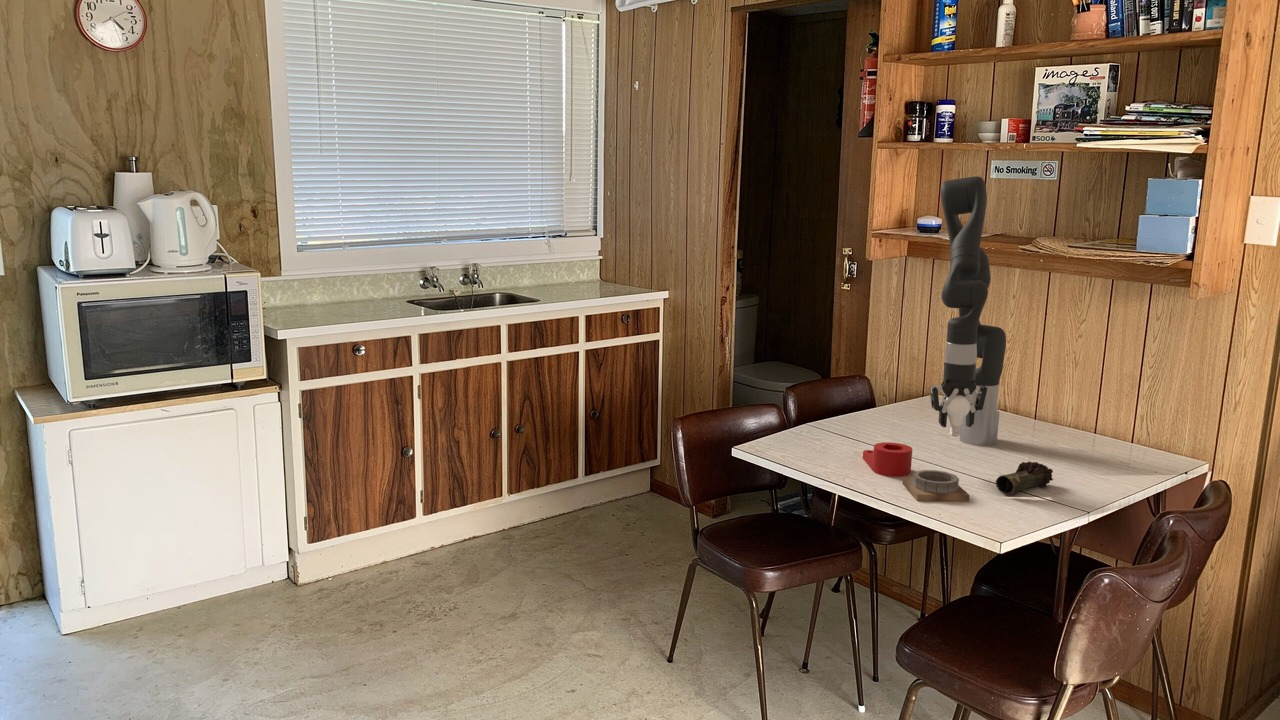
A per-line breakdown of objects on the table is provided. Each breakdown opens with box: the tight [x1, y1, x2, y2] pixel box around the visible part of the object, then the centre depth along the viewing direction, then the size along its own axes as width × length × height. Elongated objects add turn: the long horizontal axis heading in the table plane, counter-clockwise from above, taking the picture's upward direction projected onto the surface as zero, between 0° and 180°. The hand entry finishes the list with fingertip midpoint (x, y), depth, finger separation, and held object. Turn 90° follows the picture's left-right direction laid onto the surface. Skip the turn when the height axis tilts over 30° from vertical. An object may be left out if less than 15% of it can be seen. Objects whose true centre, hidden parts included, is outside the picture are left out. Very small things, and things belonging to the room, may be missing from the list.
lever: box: [862, 441, 913, 478], centre depth 248 cm, size 18×9×7 cm, turn 15°
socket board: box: [901, 469, 970, 502], centre depth 228 cm, size 12×12×4 cm
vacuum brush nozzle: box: [995, 461, 1054, 496], centre depth 231 cm, size 18×7×6 cm, turn 125°
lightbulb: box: [946, 395, 971, 438], centre depth 240 cm, size 6×6×11 cm
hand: (955, 426), depth 241 cm, fingers closed on lightbulb, 5 cm apart
